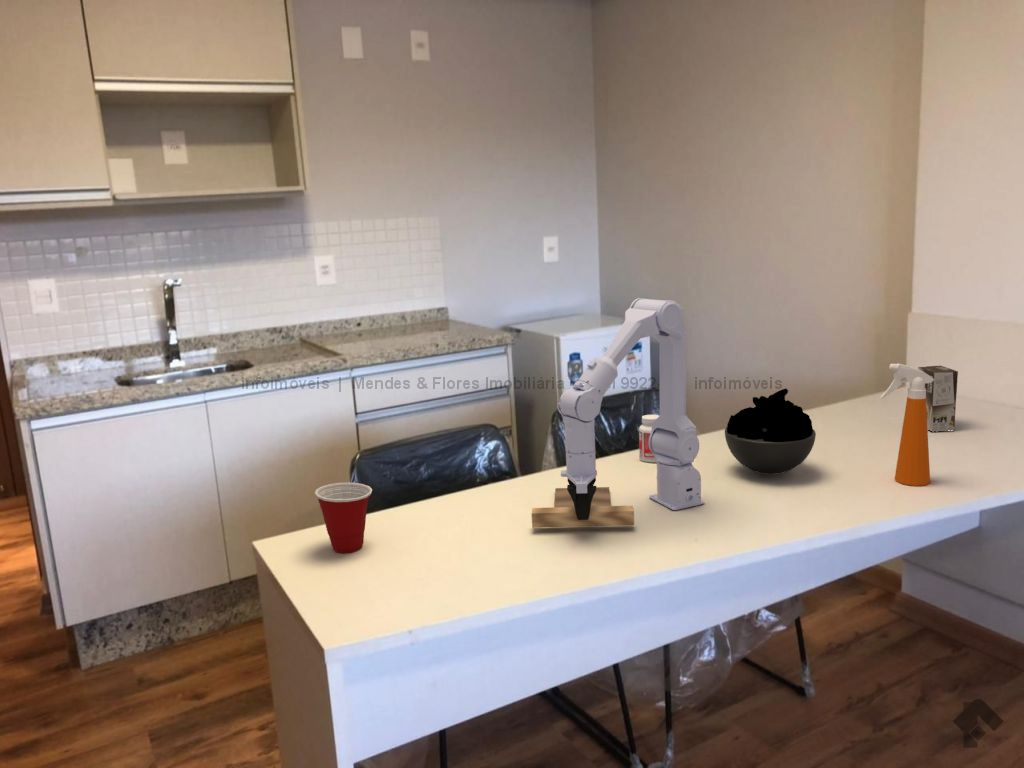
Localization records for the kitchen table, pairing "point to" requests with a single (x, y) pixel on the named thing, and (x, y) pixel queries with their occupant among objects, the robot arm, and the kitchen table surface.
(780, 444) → the bowl of black rocks
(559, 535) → the kitchen table surface
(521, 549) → the kitchen table surface
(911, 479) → the spray bottle
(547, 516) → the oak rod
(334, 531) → the plastic cup
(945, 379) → the coffee box
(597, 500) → the ridge stand
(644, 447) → the pill bottle
